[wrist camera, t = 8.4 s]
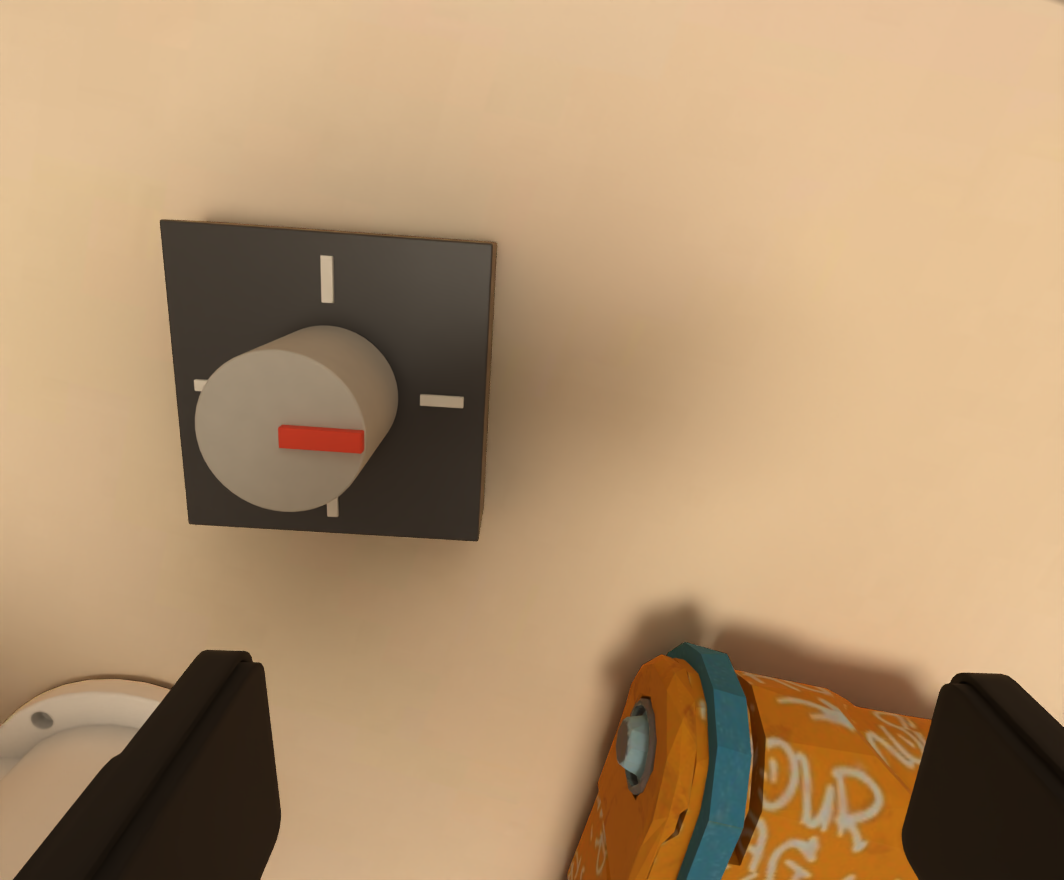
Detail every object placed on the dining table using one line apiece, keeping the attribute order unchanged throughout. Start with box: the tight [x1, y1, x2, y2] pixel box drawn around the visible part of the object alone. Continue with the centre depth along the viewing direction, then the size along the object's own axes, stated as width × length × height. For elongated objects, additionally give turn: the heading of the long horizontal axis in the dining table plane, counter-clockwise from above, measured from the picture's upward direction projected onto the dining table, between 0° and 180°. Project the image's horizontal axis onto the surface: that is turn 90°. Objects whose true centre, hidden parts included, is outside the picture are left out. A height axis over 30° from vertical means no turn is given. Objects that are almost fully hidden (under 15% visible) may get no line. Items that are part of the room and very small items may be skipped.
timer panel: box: [160, 220, 497, 541], centre depth 23 cm, size 10×10×3 cm
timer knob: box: [195, 325, 398, 512], centre depth 19 cm, size 4×4×5 cm
